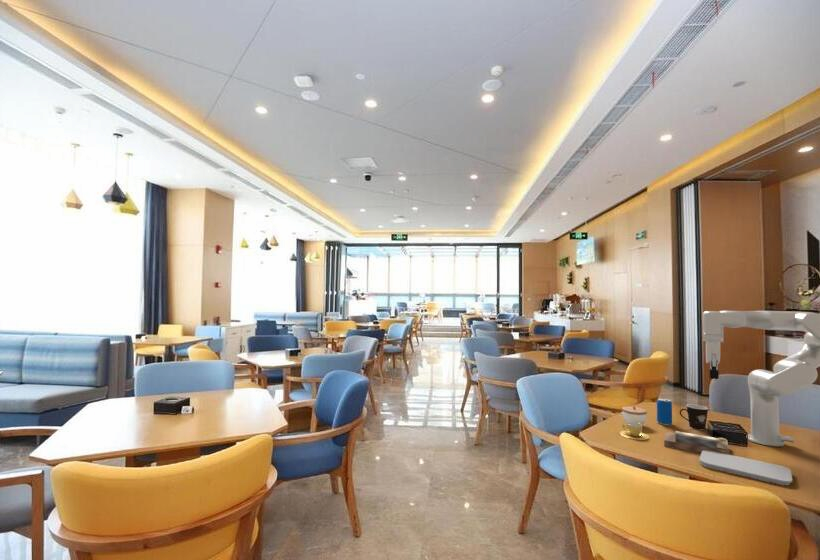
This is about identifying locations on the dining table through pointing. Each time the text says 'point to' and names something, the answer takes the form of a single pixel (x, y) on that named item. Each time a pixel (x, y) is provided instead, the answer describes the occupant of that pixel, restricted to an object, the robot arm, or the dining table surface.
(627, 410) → the lidded jar
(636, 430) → the cup
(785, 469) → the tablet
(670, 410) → the beverage can
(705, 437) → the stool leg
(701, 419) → the coffee mug
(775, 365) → the robot arm
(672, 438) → the weathered wood block
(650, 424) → the dining table surface
